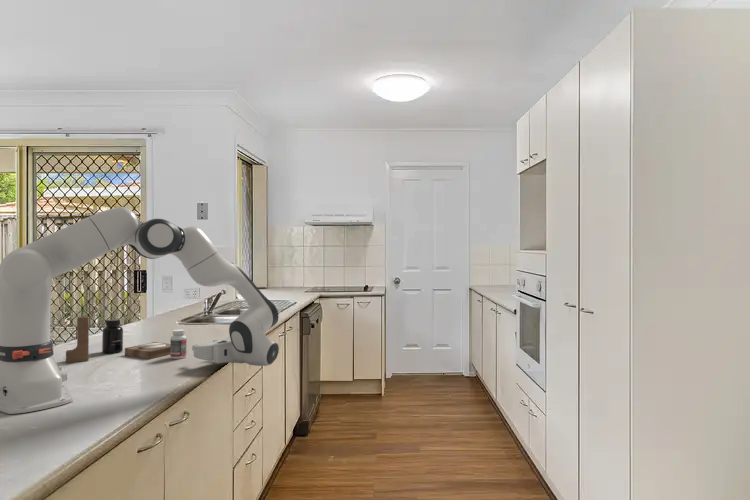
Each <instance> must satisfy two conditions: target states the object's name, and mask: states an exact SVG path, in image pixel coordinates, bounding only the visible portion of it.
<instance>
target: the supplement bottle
mask: <svg viewBox="0 0 750 500" xmlns="http://www.w3.org/2000/svg"><path fill="white" fill-rule="evenodd" d="M101 337H102V339H101V341H102V342H101V344H102V345H101V346H102V347H101V349H102V350H101V352H102V353H103V354H107V355H108V354H110V355H111V354H119V353H122V352H123V351H124V350H123V348H124V347H123V346H124V328H123V327H122V326H121V319H118V318H115V319H114V318H112V319H111V318H110V319H106V320H105V327H103V328H102V336H101Z"/></svg>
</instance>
